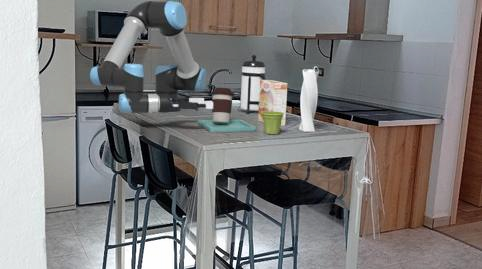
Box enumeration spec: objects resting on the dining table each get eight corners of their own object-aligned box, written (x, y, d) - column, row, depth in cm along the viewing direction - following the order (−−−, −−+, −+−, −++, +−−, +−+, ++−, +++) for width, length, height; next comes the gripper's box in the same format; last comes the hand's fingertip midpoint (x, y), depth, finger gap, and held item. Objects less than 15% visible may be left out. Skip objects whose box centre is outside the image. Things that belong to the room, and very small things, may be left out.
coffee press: (232, 112, 261) (234, 54, 255) (243, 109, 275) (246, 54, 270) (263, 115, 255) (266, 56, 249) (273, 112, 269) (276, 55, 264)
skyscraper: (320, 132, 213) (325, 66, 208) (302, 133, 210) (307, 66, 205) (311, 129, 221) (316, 65, 215) (294, 129, 218) (299, 64, 213)
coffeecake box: (257, 120, 238) (259, 79, 234) (270, 120, 240) (273, 79, 237) (271, 126, 224) (274, 82, 220) (285, 125, 227) (288, 82, 223)
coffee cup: (215, 121, 212) (217, 86, 213) (205, 122, 220) (207, 88, 221) (236, 123, 217) (238, 88, 218) (225, 124, 225) (227, 91, 226)
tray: (197, 124, 221) (197, 120, 221) (240, 123, 228) (240, 119, 228) (210, 132, 203) (210, 128, 203) (256, 131, 210) (256, 127, 209)
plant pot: (266, 136, 201) (267, 114, 199) (256, 131, 209) (257, 111, 207) (287, 135, 204) (288, 114, 203) (276, 131, 213) (277, 110, 211)
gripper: (152, 108, 216) (200, 107, 223) (164, 117, 193) (216, 116, 200) (152, 90, 214) (200, 91, 222) (164, 97, 191) (217, 97, 199)
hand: (208, 103), depth 211 cm, fingers open, 13 cm apart
